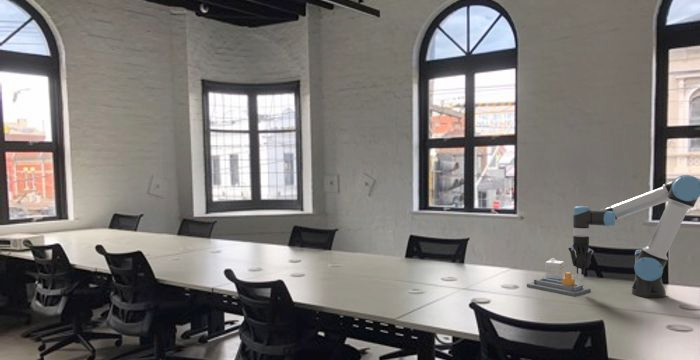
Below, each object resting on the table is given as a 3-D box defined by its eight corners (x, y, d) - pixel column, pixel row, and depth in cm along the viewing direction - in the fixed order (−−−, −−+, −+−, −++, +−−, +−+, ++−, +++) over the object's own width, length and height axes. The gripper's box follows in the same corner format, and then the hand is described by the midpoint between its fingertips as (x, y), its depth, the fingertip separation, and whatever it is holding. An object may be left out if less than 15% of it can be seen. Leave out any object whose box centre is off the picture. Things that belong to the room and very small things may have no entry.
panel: (590, 291, 264) (590, 284, 264) (574, 296, 254) (574, 289, 254) (543, 282, 286) (543, 276, 286) (526, 286, 277) (526, 280, 277)
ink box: (560, 283, 282) (560, 260, 282) (545, 282, 287) (544, 259, 287) (564, 281, 289) (564, 258, 289) (549, 279, 294) (549, 256, 294)
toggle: (574, 287, 265) (574, 273, 265) (570, 289, 262) (570, 274, 262) (565, 286, 269) (565, 271, 269) (561, 287, 266) (561, 272, 266)
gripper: (597, 236, 256) (596, 281, 257) (573, 233, 266) (572, 277, 267) (589, 237, 251) (589, 283, 252) (565, 235, 262) (565, 279, 263)
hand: (580, 280), depth 260 cm, fingers closed
